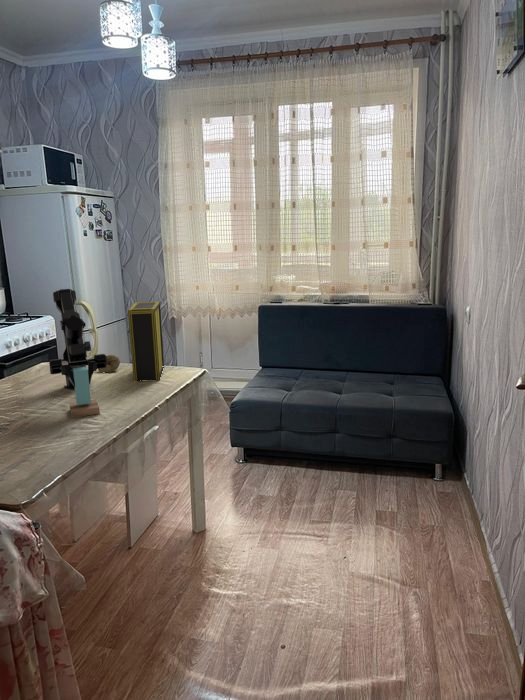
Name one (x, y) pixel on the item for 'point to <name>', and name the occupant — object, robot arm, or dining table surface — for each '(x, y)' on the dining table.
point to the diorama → (146, 340)
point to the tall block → (82, 385)
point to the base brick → (84, 409)
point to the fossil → (111, 364)
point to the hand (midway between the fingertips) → (82, 385)
